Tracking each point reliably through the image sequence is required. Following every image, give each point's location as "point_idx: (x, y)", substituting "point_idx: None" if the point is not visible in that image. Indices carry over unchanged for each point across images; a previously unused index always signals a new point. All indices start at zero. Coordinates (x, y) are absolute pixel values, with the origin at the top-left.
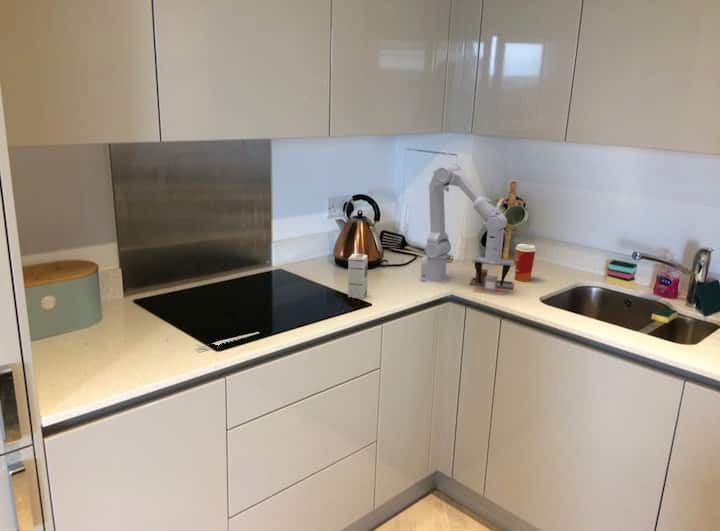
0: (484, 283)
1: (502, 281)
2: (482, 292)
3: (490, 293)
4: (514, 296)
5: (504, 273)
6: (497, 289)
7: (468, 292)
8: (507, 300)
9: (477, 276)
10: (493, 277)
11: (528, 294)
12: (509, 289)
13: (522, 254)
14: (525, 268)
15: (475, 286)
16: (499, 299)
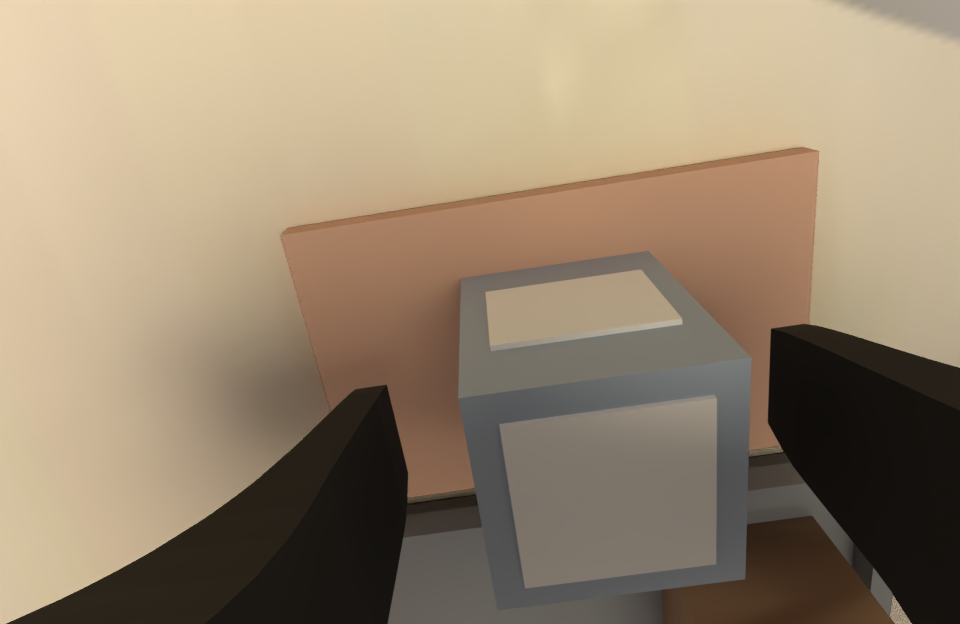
0: None
1: (328, 426)
2: (662, 174)
3: (523, 197)
4: (164, 310)
5: (204, 555)
6: (464, 434)
7: (892, 131)
8: (176, 37)
9: (856, 618)
10: (554, 477)
11: (40, 487)
12: None
13: None
14: None
15: None
16: (317, 18)
